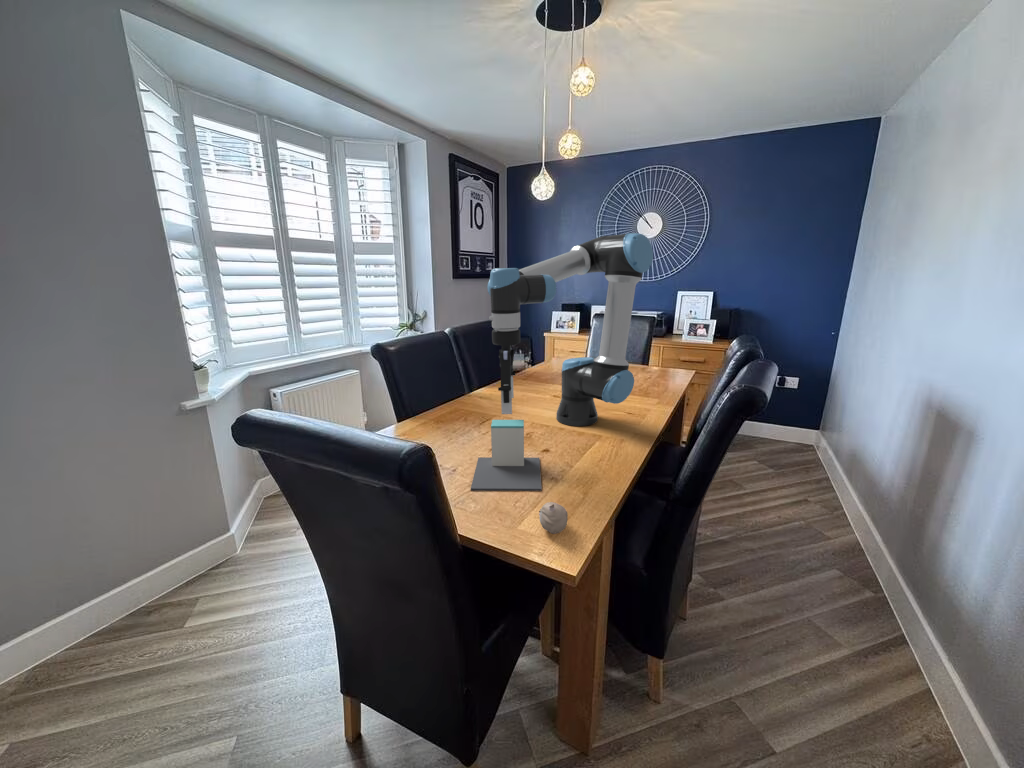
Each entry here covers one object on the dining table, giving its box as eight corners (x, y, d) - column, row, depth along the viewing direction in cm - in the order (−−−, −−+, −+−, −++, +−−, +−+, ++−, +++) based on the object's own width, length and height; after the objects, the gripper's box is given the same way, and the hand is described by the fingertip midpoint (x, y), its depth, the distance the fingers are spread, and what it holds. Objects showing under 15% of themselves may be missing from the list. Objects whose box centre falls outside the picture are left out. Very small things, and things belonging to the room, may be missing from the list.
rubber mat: (539, 459, 122) (539, 457, 121) (541, 490, 104) (541, 488, 104) (478, 459, 122) (478, 457, 122) (470, 490, 105) (470, 488, 105)
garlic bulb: (532, 530, 89) (532, 497, 86) (550, 517, 93) (550, 485, 91) (557, 543, 84) (558, 508, 82) (574, 528, 89) (575, 495, 87)
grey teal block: (524, 458, 121) (523, 419, 118) (523, 466, 116) (523, 426, 113) (493, 458, 121) (492, 419, 118) (492, 465, 117) (490, 426, 113)
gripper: (495, 322, 121) (497, 392, 126) (487, 336, 97) (490, 421, 103) (520, 322, 120) (521, 392, 126) (519, 336, 96) (521, 421, 102)
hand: (508, 405), depth 114 cm, fingers open, 13 cm apart
